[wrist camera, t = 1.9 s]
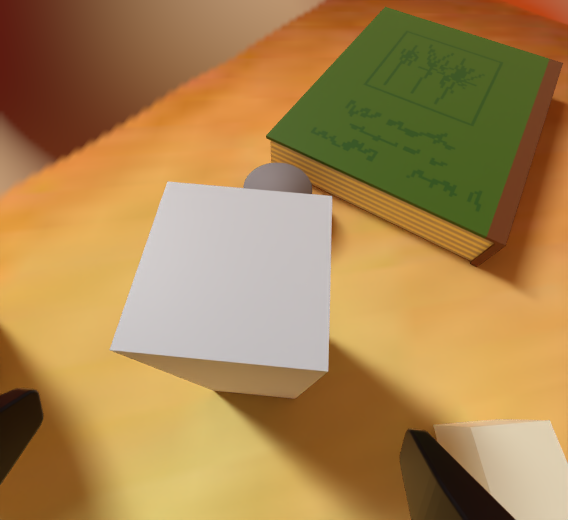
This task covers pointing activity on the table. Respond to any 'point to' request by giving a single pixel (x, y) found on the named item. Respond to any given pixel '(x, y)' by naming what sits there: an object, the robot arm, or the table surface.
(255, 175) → the grey rounded dome
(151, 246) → the light grey block
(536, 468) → the cream block
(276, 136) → the hardcover book
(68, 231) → the table surface
